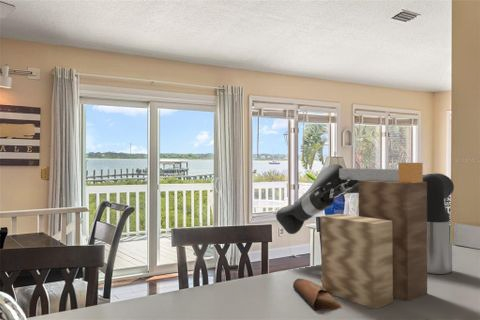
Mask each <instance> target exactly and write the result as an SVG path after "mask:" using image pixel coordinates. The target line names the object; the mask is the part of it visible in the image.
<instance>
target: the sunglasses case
mask: <svg viewBox="0 0 480 320" xmlns="http://www.w3.org/2000/svg"><path fill="white" fill-rule="evenodd" d="M292 284H293V285H292V288H293V290H295V291H296V292H297V293H298V294H300V295H301V296H302V298H304V299H305V301H306V302H307V303H308V304H309V306H311V307H312V308H313V309H314V310H315V311H327V310H337V309H341V310H342V309H343V307H342V305H341V304H340V303H339V302H338V300H337V299H336V298H335V297H333V296H332V294H329V293H328V292H327V290H326V289H325V288H323V287H322V285H319V284H318V283H315V282H313V281H311V280H308V279H305V278H300V277H299V278H296V279H295V280H294V281H293V283H292Z"/></svg>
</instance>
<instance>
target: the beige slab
mask: <svg viewBox="0 0 480 320" xmlns="http://www.w3.org/2000/svg"><path fill="white" fill-rule="evenodd" d="M321 287H323V288H325V289H326V290H327V292H328V293H329V294H330V295H331V296H332V295H333V296H335V297H339V298H342V299H344V300H347V301H351V302H353V303H356V304H359V305H363V306H365V307H368V308H371V309H378V308H381V307H383V306H386V305H389V304H391V303H393V302H394V301H393V300H394V299H393V298H394V297H393V252H392V221H390V220H383V219H375V218H368V217H360V216H359V215H351V214H344V213H335V214H329V215H327V214H326V215H322V216H321Z"/></svg>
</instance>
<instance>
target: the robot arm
mask: <svg viewBox="0 0 480 320" xmlns="http://www.w3.org/2000/svg"><path fill="white" fill-rule="evenodd" d="M339 168H344V167H343V166H342V165H340V164H331V165H328V166H327V167H325V168H324V169H322V171H321V172H320V174H319V175H318V176H317V178H316V179H315V180H314V182H313V183H312V184H311V185H310V187H309V188H308V190H307V191H306V192H305V193H304V194H303V195H301V196H300V197H299V198H298V199H297V200H295V202H294V203H293V204H290V205H286V206H284V207H281V208H280V209H278V210H277V212H276V215H275V218H276V221H278V223H279V224H280V225H281V227H282V228H283V229H284V230H285V231H286V233H288V234H289V235H294V234H295V235H296V234H297V233H298V232H299V231H300V230H301V229H302V227H303V225H304V224H305V221H308V220H309V219H311V218H312V217H314V216H316V215H317V214H319V213H321V212H323V211H324V210H325V211H326V209H328V208H329V207H331V206H333V204H334V202H335V198H338V197H339V196H341V197H343V196H345V195H346V194H359V181H364V180H346V179H341V178H339ZM423 182H427V274H435V275H445V274H446V275H447V274H449V273H453V244H452V243H450V213H449V212H448V211H447V210H446V208H445V207H446V206H445V199H446V198H448V197H450V196H451V195H452V193H454V189H455V186H454V182H453V180H452V179H451V178H450V177H449V176H447V175H446V174H443V173H437V172H436V173H426V174H423Z"/></svg>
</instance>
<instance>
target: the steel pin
mask: <svg viewBox="0 0 480 320" xmlns="http://www.w3.org/2000/svg"><path fill="white" fill-rule="evenodd" d="M423 165H424V164H423V162H398V168H397V169H396V168H356V167H354V168H353V167H351V168H348V167H345V168H344V167H343V168H339V178H341V179H346V180H348V181H349V180H366V181H386V182H401V183H418V182H423V175H424V174H423V173H424V172H423V171H424V169H423V168H424V167H423Z"/></svg>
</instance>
